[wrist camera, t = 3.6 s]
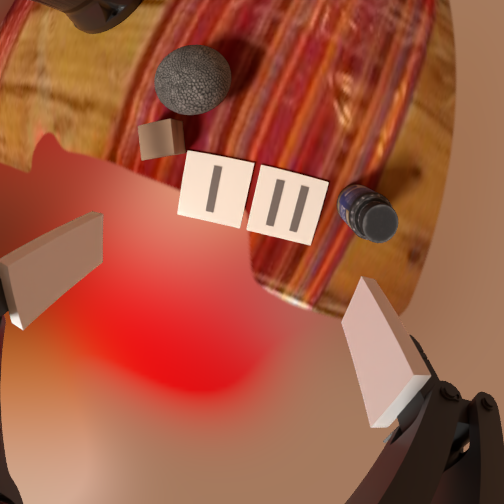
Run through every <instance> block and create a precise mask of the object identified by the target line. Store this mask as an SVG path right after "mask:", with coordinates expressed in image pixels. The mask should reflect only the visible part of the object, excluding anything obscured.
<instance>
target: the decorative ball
mask: <svg viewBox="0 0 504 504" xmlns="http://www.w3.org/2000/svg"><path fill="white" fill-rule="evenodd" d="M230 85H231V70H230V67H229V64H228V62H227V61H226V59H225V58H224V57H223V56H222V55H221V54H220V53H219V52H218V51H216V50H214V49H212V48H210V47H207V46H203V45H188V46H184V47H181V48H178V49H176V50H174V51H173V52H171V53H170V54H168V55H167V56H166V57H165V58H164V59H163V61H162V62H161V63H160V65H159V66H158V68H157V71H156V74H155V90H156V93H157V96H158V98H159V99H160V101H161V102H162V103H163V104H164V105H165V106H166V107H167V108H168V109H170V110H172V111H174V112H176V113H179V114H183V115H197V114H202V113H205V112H208V111H210V110H211V109H213V108H215V107H216V106H217V105H219V104H220V103H221V102H222V100H223V99H224V98H225V96H226V95H227V93H228V91H229V88H230Z"/></svg>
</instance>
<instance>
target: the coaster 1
mask: <svg viewBox="0 0 504 504" xmlns="http://www.w3.org/2000/svg"><path fill="white" fill-rule="evenodd" d="M254 164H255V163H252V162H247V161H243V160H238V159H233V158H228V157H223V156H218V155H212V154H207V153H201V152H196V151H190V150H188V152H187V157H186V163H185V168H184V174H183V180H182V186H181V192H180V199H179V206H178V215H183V216H188V217H192V218H197V219H201V220H205V221H210V222H214V223H219V224H223V225H227V226H232V227H236V228H240V227H241V222H242V217H243V213H244V208H245V204H246V199H247V195H248V190H249V186H250V181H251V177H252V172H253V168H254Z"/></svg>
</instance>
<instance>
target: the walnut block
mask: <svg viewBox="0 0 504 504" xmlns="http://www.w3.org/2000/svg"><path fill="white" fill-rule="evenodd" d="M138 133H139V142H140V151H141V159H142V160H148V159H155V158H160V157H166V156H171V155H177V154H183V153H186V150H185V141H184V131H183V121H180V120H175V119H171V118H170V119H166V120H161V121H157V122H153V123H148V124H144V125H140V126H138Z"/></svg>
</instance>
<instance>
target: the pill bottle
mask: <svg viewBox="0 0 504 504" xmlns="http://www.w3.org/2000/svg"><path fill="white" fill-rule="evenodd" d="M337 210H338V213H339V215H340V216H341V218H342V219H343V220H344V221H345V222H346V223H347V224H348V226H349V227H350V228H351V229H352V230H353V231H354V232H355V233H356V235H358V236H359V237H361V238H363V239H366V240H370V241H372V242H375V243H383V242H386V241H388V240H389V239H391V238H392V237H393V235H394V234H395V233H396V230H397V228H398V217H397V214H396V212H395V210H394V209H393V208H392V205H391V204H390V202H389V200H388V199H386V197H384V196H383V195H381V194H379V193H377V192H375V191H373V190H371V189H369V188H367V187H365V186H363V185H357V184H354V185H350V186H348V187H346V188H345V189H343V190H342V191H341V193H340V194H339V196H338V200H337Z"/></svg>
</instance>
